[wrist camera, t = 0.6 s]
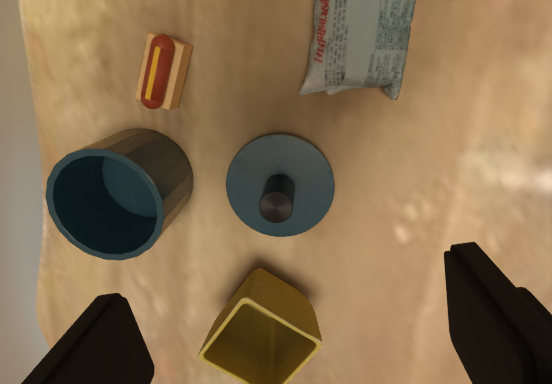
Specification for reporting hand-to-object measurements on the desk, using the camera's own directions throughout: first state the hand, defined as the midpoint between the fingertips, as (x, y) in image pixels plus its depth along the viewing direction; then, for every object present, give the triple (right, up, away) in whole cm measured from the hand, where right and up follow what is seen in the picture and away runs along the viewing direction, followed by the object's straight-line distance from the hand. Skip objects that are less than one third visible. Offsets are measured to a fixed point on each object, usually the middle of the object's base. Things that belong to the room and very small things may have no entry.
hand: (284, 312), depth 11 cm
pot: (-14, +5, +28) cm, 32 cm away
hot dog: (-10, +15, +24) cm, 30 cm away
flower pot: (-1, -8, +32) cm, 33 cm away
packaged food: (+6, +18, +22) cm, 29 cm away
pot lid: (0, +4, +27) cm, 27 cm away
